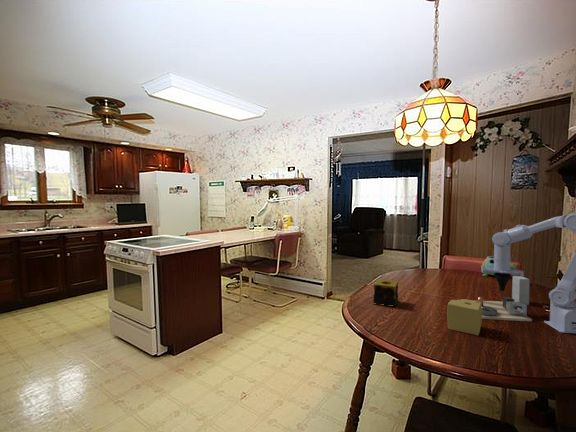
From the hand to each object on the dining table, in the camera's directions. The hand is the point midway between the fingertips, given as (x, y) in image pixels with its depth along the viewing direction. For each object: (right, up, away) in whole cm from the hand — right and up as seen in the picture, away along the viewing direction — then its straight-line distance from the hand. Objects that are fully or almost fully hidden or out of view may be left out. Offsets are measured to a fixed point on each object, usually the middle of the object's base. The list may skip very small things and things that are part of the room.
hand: (501, 290), depth 126 cm
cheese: (-25, -11, -15) cm, 31 cm away
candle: (-46, -10, +14) cm, 49 cm away
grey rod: (+2, -8, -3) cm, 9 cm away
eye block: (+2, -10, -5) cm, 11 cm away
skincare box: (+17, -9, +10) cm, 21 cm away
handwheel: (-10, -8, -3) cm, 13 cm away
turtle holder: (+39, -6, +57) cm, 69 cm away
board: (-4, -9, +1) cm, 10 cm away
